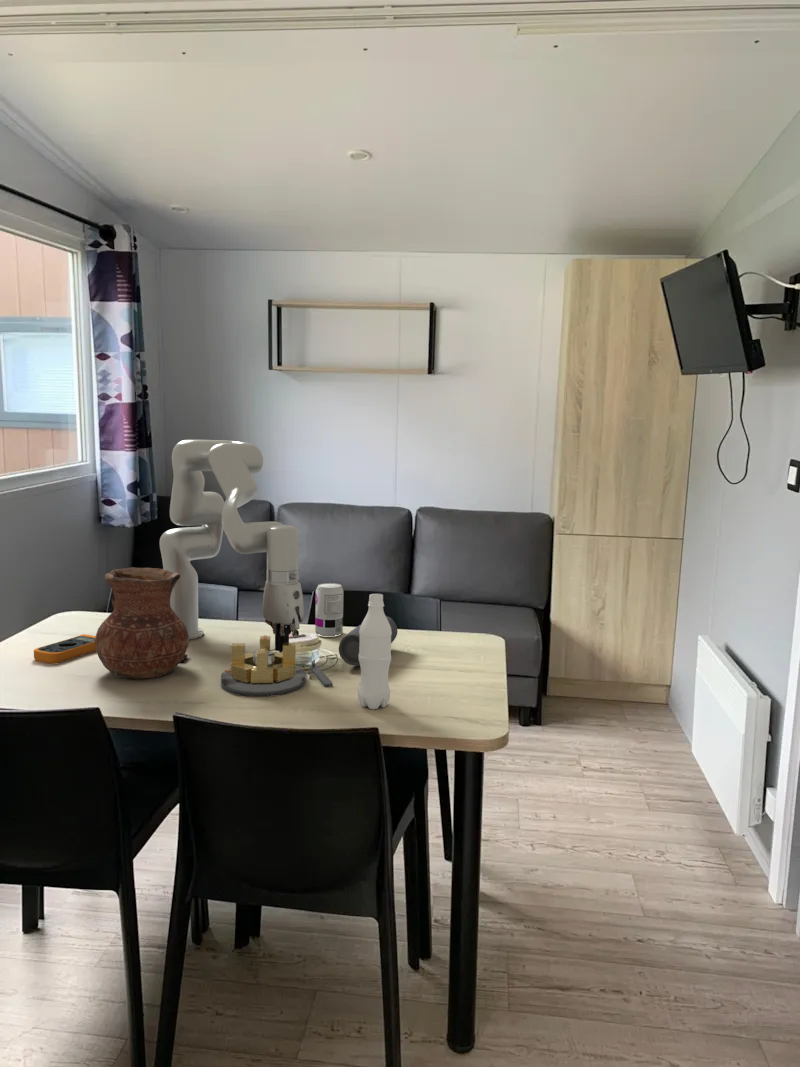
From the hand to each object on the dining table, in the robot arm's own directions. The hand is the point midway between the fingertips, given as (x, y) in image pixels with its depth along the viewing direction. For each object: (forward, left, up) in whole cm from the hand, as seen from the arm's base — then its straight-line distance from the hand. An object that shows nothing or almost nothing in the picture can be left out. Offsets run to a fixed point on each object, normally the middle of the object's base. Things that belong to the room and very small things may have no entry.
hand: (281, 650), depth 186 cm
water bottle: (+21, -21, -7) cm, 31 cm away
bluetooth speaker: (+23, +15, -7) cm, 28 cm away
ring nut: (-4, -4, -4) cm, 7 cm away
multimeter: (-56, +22, -7) cm, 61 cm away
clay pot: (-34, +6, -7) cm, 35 cm away
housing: (-4, -4, -7) cm, 9 cm away
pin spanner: (+9, 0, -7) cm, 12 cm away
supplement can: (+13, +40, -7) cm, 42 cm away
